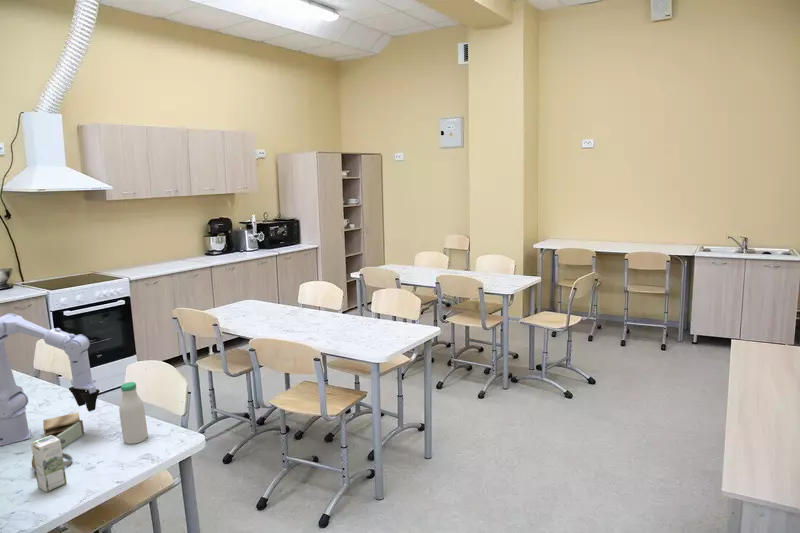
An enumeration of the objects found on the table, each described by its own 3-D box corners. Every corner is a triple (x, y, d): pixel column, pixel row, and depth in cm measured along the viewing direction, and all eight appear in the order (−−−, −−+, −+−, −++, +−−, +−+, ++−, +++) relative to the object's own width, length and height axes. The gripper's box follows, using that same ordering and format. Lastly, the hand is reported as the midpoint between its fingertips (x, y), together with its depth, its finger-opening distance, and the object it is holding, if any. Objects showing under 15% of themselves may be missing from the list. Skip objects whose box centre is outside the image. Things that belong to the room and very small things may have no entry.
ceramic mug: (32, 477, 177) (28, 454, 176) (35, 465, 185) (32, 443, 183) (72, 468, 182) (68, 446, 180) (73, 457, 189) (70, 435, 188)
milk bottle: (152, 438, 199) (144, 383, 196) (129, 447, 194) (121, 390, 190) (142, 431, 205) (134, 378, 201) (119, 440, 199) (111, 385, 195)
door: (63, 449, 194) (61, 436, 193) (58, 448, 194) (56, 436, 193) (84, 434, 204) (82, 422, 203) (79, 434, 204) (77, 422, 203)
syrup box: (57, 478, 176) (50, 433, 174) (67, 483, 173) (60, 438, 170) (37, 487, 172) (29, 441, 169) (47, 493, 168) (39, 446, 166)
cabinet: (45, 443, 199) (43, 429, 198) (45, 433, 207) (43, 420, 206) (84, 433, 205) (82, 420, 204) (82, 424, 213) (80, 411, 212)
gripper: (102, 371, 199) (108, 408, 201) (83, 363, 208) (89, 399, 210) (81, 377, 193) (87, 416, 196) (62, 369, 202) (68, 406, 205)
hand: (86, 407), depth 203 cm, fingers open, 7 cm apart
